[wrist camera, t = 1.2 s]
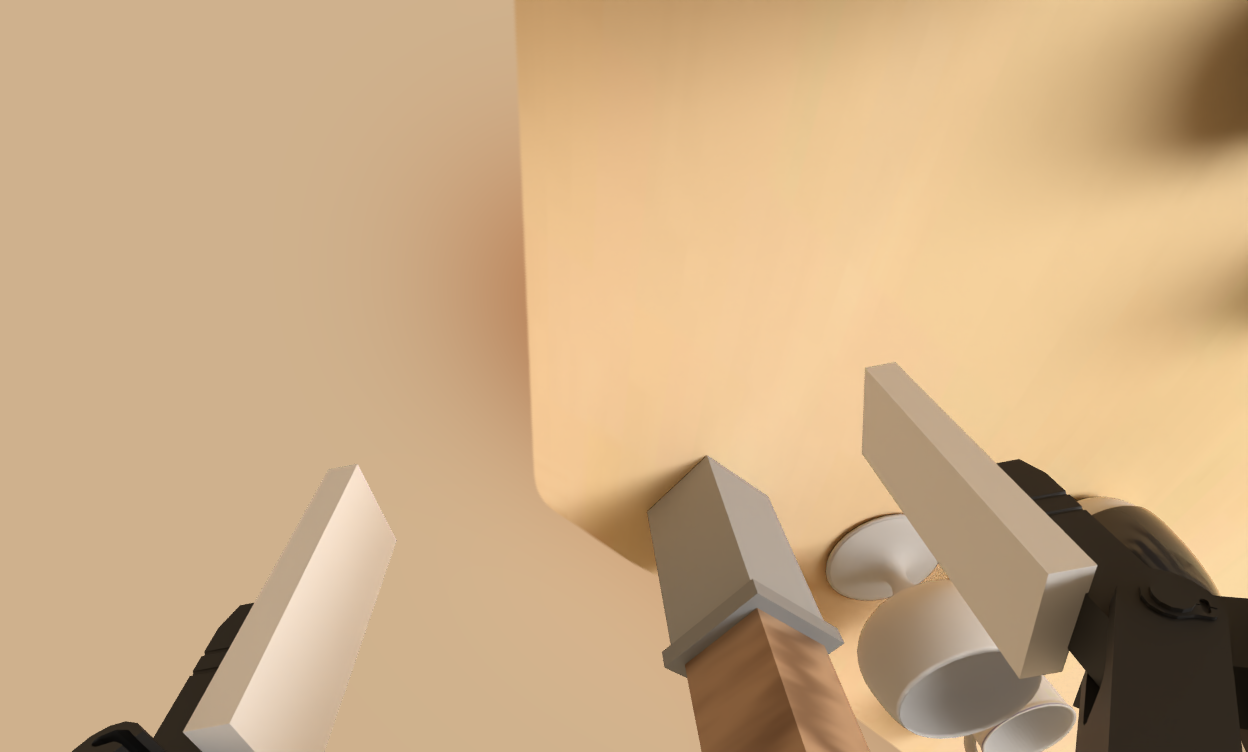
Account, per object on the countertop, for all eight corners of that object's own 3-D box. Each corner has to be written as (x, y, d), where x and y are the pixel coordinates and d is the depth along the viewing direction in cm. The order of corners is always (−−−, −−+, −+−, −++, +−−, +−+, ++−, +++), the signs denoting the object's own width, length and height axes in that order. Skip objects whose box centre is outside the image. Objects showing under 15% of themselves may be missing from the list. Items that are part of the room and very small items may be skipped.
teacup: (989, 631, 69) (1037, 698, 62) (1049, 655, 72) (1100, 721, 65) (906, 699, 74) (942, 768, 67) (965, 718, 78) (1005, 785, 71)
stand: (639, 512, 55) (664, 667, 41) (707, 449, 52) (757, 593, 38) (708, 553, 58) (752, 708, 45) (775, 495, 55) (844, 643, 42)
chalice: (939, 483, 56) (1052, 617, 43) (959, 573, 63) (1063, 712, 50) (799, 537, 58) (867, 680, 45) (833, 619, 65) (901, 764, 52)
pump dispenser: (1137, 522, 62) (1294, 654, 48) (1040, 569, 64) (1164, 707, 51) (1117, 461, 57) (1283, 589, 44) (1013, 515, 59) (1141, 651, 46)
